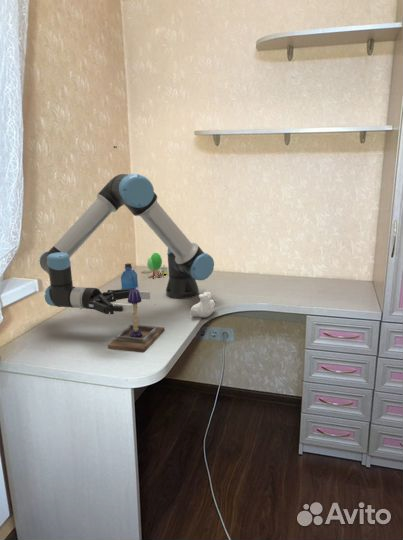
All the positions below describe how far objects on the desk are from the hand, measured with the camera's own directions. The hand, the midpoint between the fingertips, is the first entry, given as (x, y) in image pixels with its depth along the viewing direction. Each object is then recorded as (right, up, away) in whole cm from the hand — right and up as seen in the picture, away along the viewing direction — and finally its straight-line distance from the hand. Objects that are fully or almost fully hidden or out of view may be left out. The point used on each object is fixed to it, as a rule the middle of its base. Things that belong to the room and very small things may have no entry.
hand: (141, 302), depth 138 cm
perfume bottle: (-15, +2, +64) cm, 66 cm away
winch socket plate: (-2, -13, +4) cm, 14 cm away
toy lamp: (-2, -12, +4) cm, 13 cm away
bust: (+21, -8, +24) cm, 33 cm away
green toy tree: (-5, +7, +84) cm, 85 cm away
